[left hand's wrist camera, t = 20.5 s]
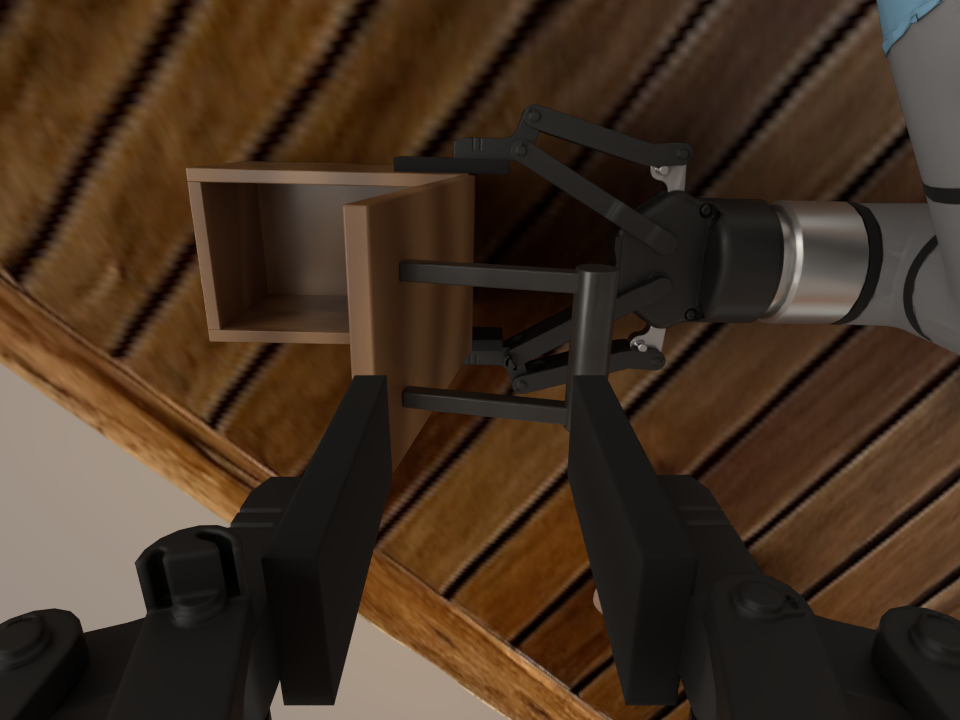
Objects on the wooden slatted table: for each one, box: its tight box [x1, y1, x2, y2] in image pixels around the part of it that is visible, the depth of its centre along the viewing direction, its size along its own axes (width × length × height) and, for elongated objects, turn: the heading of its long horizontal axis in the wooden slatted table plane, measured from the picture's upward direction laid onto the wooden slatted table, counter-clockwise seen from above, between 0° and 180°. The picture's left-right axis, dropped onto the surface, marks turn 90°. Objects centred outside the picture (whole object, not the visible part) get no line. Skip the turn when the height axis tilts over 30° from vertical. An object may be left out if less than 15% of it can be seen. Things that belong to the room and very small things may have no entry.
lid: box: [343, 175, 619, 474], centre depth 26 cm, size 16×10×8 cm
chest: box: [186, 161, 470, 344], centre depth 39 cm, size 15×10×10 cm, turn 89°
